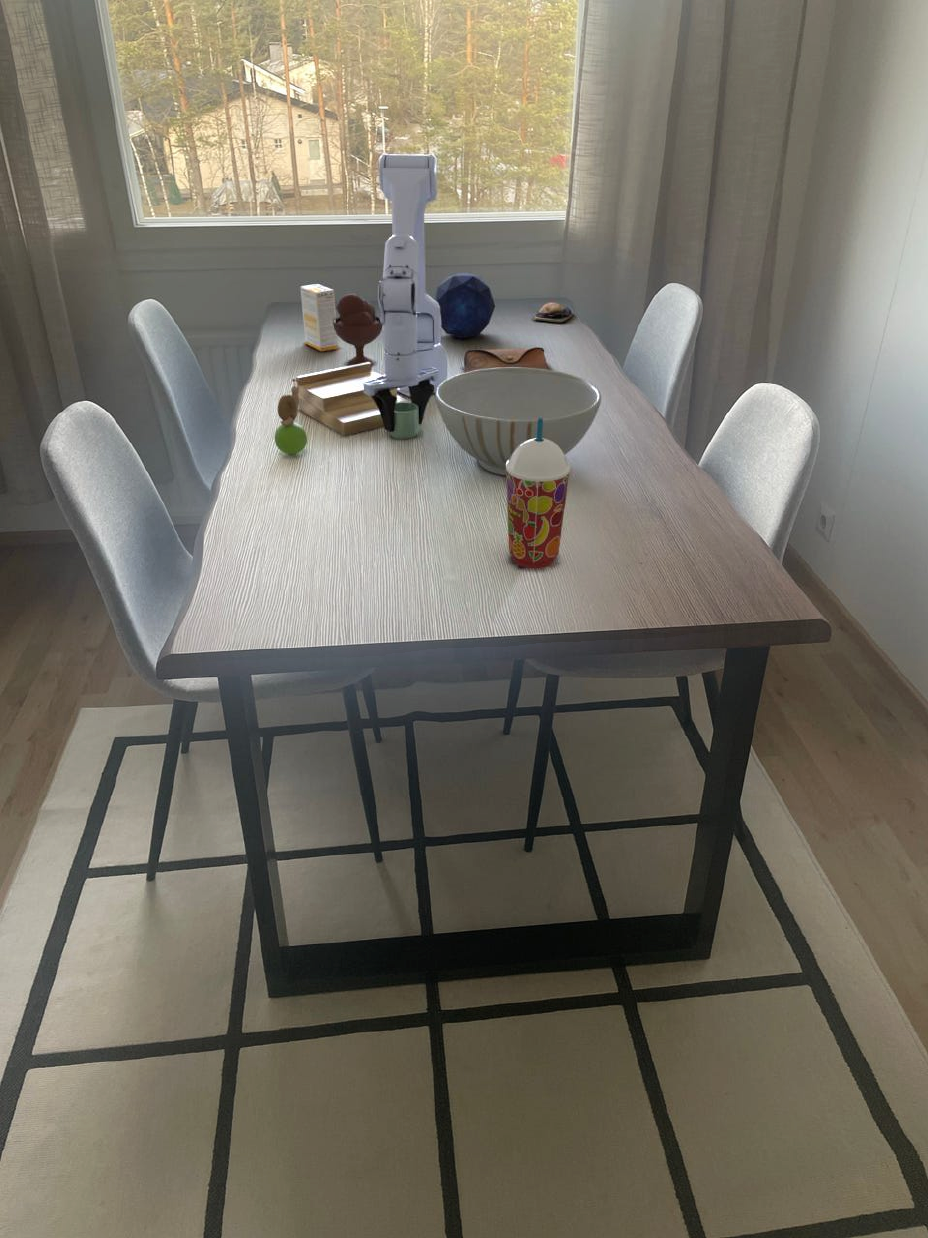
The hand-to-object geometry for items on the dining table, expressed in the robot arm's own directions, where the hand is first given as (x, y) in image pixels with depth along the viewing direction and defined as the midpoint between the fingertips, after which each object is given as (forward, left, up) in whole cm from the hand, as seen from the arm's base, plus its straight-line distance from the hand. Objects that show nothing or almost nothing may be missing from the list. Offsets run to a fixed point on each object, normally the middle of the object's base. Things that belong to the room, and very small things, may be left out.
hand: (403, 426), depth 165 cm
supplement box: (-16, -58, -2) cm, 60 cm away
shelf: (+1, -14, -1) cm, 14 cm away
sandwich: (-77, -46, -2) cm, 89 cm away
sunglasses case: (-39, -18, -2) cm, 43 cm away
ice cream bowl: (-16, -41, -2) cm, 44 cm away
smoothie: (+12, +50, -2) cm, 51 cm away
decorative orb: (-48, -46, -2) cm, 67 cm away
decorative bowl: (-8, +22, -2) cm, 23 cm away
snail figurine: (+20, -4, -2) cm, 20 cm away
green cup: (0, 0, -1) cm, 1 cm away
